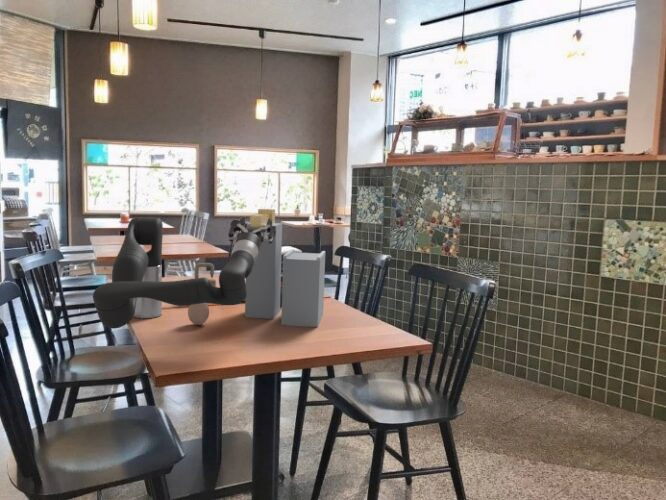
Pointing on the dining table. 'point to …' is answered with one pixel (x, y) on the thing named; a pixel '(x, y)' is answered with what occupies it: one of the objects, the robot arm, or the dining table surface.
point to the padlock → (212, 281)
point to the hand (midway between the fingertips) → (256, 220)
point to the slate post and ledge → (286, 284)
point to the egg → (198, 313)
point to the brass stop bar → (262, 217)
